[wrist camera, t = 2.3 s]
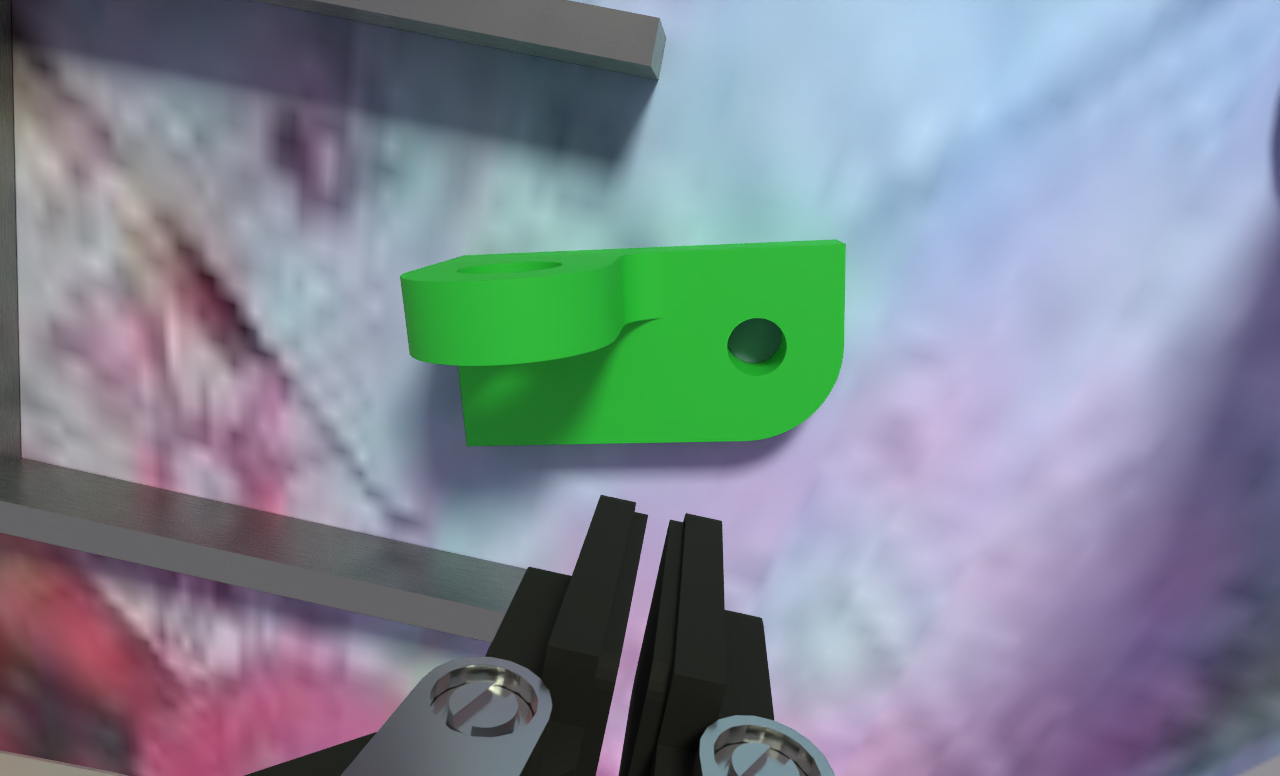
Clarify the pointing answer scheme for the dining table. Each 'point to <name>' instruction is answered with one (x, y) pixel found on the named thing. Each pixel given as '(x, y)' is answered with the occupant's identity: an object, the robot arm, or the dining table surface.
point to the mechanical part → (631, 340)
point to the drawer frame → (256, 540)
